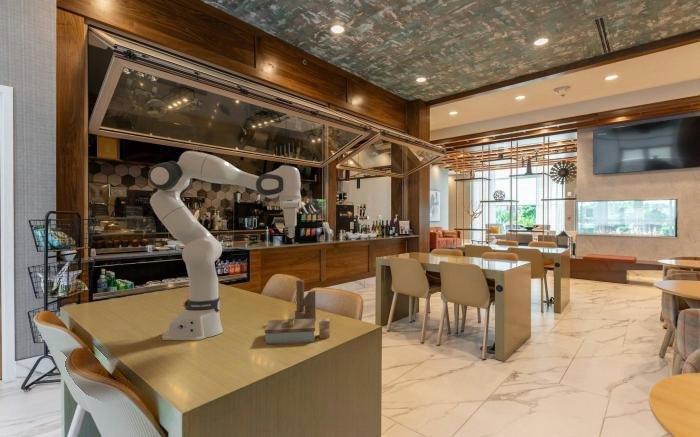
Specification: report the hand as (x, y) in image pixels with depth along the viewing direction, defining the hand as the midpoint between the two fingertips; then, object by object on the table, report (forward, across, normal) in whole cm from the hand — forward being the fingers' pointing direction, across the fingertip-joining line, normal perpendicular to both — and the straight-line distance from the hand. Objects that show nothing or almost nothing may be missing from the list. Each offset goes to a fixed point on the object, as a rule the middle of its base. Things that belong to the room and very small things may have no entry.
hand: (291, 237), depth 143 cm
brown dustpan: (+39, -14, +4) cm, 42 cm away
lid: (+35, +9, -1) cm, 36 cm away
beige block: (+39, +9, +12) cm, 42 cm away
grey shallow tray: (+39, +9, -1) cm, 40 cm away
